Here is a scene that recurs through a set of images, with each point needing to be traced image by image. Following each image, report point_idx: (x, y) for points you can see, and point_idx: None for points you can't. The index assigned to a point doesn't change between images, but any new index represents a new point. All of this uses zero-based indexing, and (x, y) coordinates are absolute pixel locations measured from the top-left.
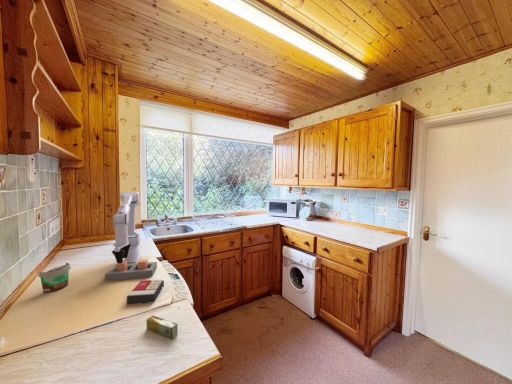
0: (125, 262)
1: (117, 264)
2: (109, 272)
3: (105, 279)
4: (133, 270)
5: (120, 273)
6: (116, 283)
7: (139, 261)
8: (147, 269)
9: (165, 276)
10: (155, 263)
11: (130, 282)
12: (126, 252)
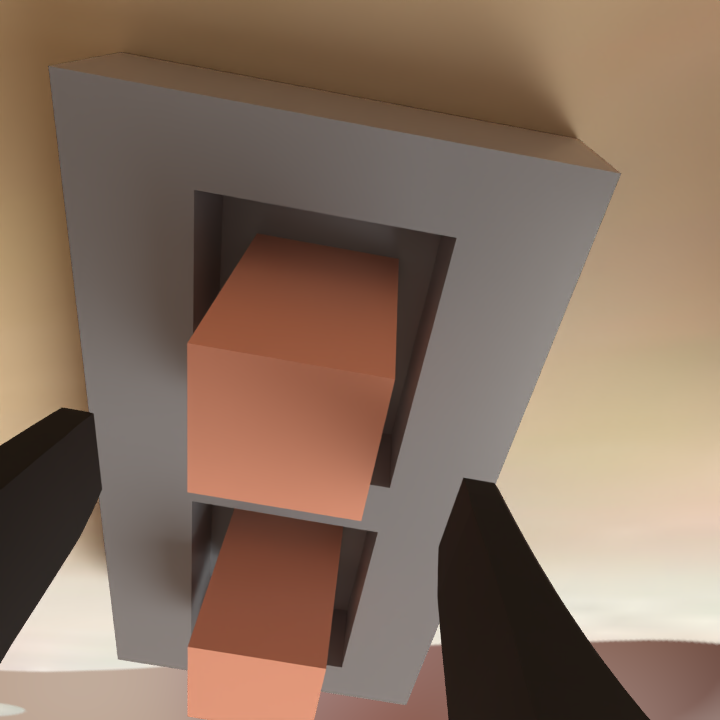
0: (241, 499)
1: (191, 357)
2: (151, 142)
3: (106, 56)
4: (156, 506)
5: (86, 346)
6: (7, 255)
7: (224, 664)
8: (155, 628)
9: (130, 661)
10: (347, 692)
11: (25, 413)
12: (457, 695)
